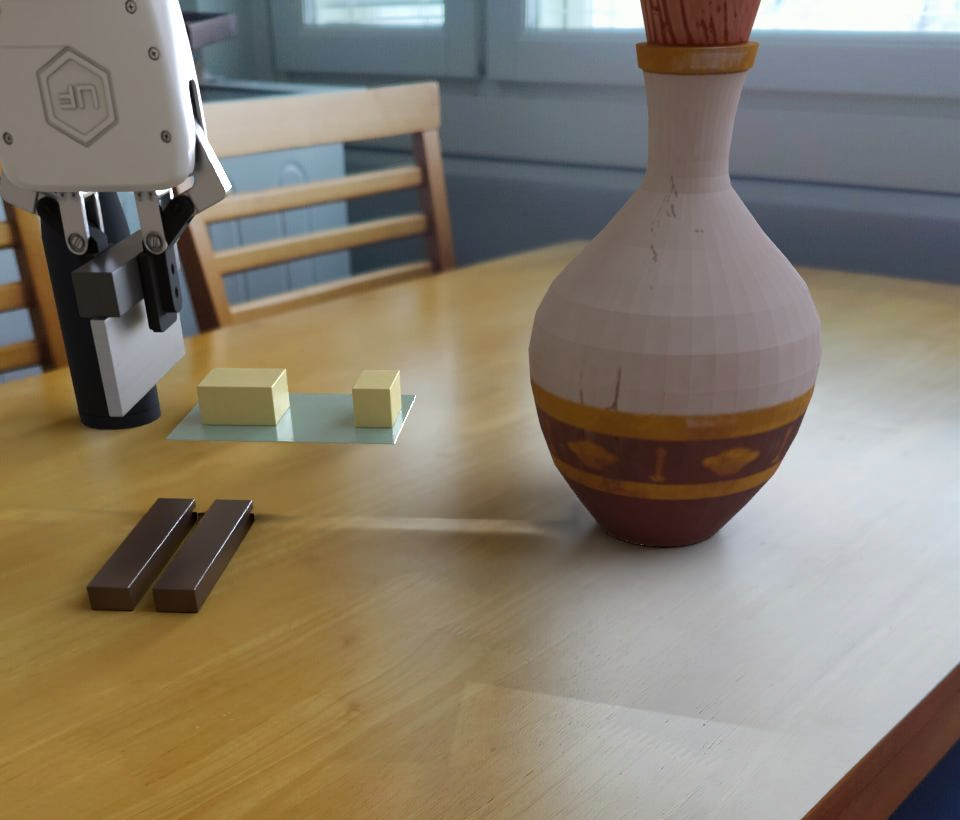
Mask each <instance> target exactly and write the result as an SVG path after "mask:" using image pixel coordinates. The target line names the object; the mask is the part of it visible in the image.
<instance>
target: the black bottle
mask: <svg viewBox="0 0 960 820" xmlns="http://www.w3.org/2000/svg"><path fill="white" fill-rule="evenodd" d="M98 195H99V201H100V207H101V213H102V219H103V225H104V232H105V235H106V236H107V240H108V244H114V245H116V244H117V243H119V242H120V241H122V240H124V239H125V238H127V237H128V236H130V235H131V231H130V230H131V229H130V226H129V223H128V221H127V218H126V215H125V211H124V209H123V206H122V203H121V200H120V197H119V194H118V192H98ZM39 218H40V217H39ZM39 220H40V221H39V223H40V236H41V237H40V238H41V242H42V246H43V251H44V255H45V256H44V257H45V261H46V266H47V270H48V275H49V279H50V284H51V288H52V294H53V298H54V303H55V307H56V312H57V317H58V322H59V325H60V326H59V327H60V330H61V332H60V333H61V336H62V341H63V346H64V350H65V355H66V359H67V364H68V368H69V373H70V378H71V382H72V388H73V392H74V396H75V401H76V406H77V407H76V408H77V411H78V415H79V420H80V423H81V424H82V425H83V426H84V427H86V428H90V429H95V430H101V431H117V430H118V431H119V430H129V429H133V428H134V429H135V428H139V427H143V426H146V425H150V424H152V423H154V422H156V421H157V420H159V418H160V417H161V416H162V409H161V404H160V403H161V402H160V398H159V392H158V386H157V384H156V385H155V386H154V387H153V388H152V389H151V390H150V391H149V392H148V393H147V394H146V395H145V396H144V397H143V398H142V399H140V400H139V401H138V402H137V403H136V404H135V405H134V406H133V407H132V408H131V409H130V410H129V411H128V412H127V413H126V414H125V415H124V416H123V417H110V416H109V411H108V406H107V401H106V396H105V391H104V386H103V381H102V377H101V372H100V367H99V362H98V357H97V352H96V347H95V342H94V337H93V332H92V328H91V323H90V320H92V319H93V318H94V317H80V313H79V308H78V303H77V299H76V294H75V289H74V284H73V279H72V275H71V273H72V272H73V271H75V270H76V269H78V268H79V267H80V262H79V257H78V255H77V254H74V253H72V252H71V251H70V250H69V248H68V247H67V244H66V241H65V240H64V239H63V238H62V237H61V236H60V235H59V234H58V233H56V232H55V231H54V230H53V229H52V228H51V227H50V226H49V225H48V224H47V223H46V222H44V221H43V220H42V219H41V218H40V219H39Z"/></svg>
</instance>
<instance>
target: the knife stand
mask: <svg viewBox="0 0 960 820" xmlns="http://www.w3.org/2000/svg"><path fill="white" fill-rule="evenodd" d="M253 502H254V501H253V500H252V499H226V498H225V499H221V498H216V499H214V500H213V502H212V503H211V505H210V507H209V508H208V509H207V511H206V512H205V514H204V515H203V516H202V517H201V519H200V521H199V522H198V524H196V523H197V521H198V520H199V515H198V511H194V510H195V509H196V507H197V504H196V499H195V498H179V497H178V498H177V497H173V498H172V497H158V498H157V499H156V500H155V501H154V503H153V504H152V505H151V506H150V507H149V509H148V510H147V511H146V513H145V514H144V515H143V516H142V518H141V519H140V520H139V521H138V522H137V523H136V524H135V526H134V527H133V529H132V530H131V531H130V532H129V533H128V535H126V537H125V538H124V540H123V541H122V542H121V543H120V544H119V546H118V547H117V548H116V549H115V550H114V552H113V553H112V554H111V555H110V557H109V558H108V559H107V560H106V561H105V563H104V564H103V566H101V568H100V569H99V570H98V571H97V573H95V575H94V576H93V578H92V579H91V580H90V581H89V582H88V584H87V585H86V592H87V596H88V601H89V606H90V609H91V610H103V611H104V610H105V611H106V610H107V611H134V609H135V608H136V606H137V605H138V604H139V603H140V601H141V599H142V598H143V596H144V595H145V594H146V592H147V591H148V590H149V588H150V587H151V585H152V584H153V582H155V580H156V579H157V577H158V576H159V574H160V573H161V572H162V570H163V569H164V568H165V566H166V565H167V563H168V562H169V560H170V559H171V558H172V556H173V555H174V553H175V552H176V551H177V550H178V548H179V546H180V545H181V544H182V542H183V541H184V540H185V539H186V540H185V541H184V543H183V544H182V546H181V547H180V549H179V550H178V551H177V553H176V554H175V555H174V557H173V558H172V559H171V561H170V562H169V564H168V565H167V567H166V568H165V570H164V571H163V572H162V573H161V575H160V577H159V578H158V580H157V581H156V582H155V583H154V585H153V586H152V588H151V591H152V596H153V602H154V607H155V611H156V612H171V613H172V612H173V613H174V612H175V613H199V611H200V610H201V608H202V606H203V605H204V604H205V602H206V601H207V598H208V597H209V596H210V595H211V592H212V590H213V589H214V587H215V586H216V584H217V582H218V581H219V580H220V578H221V576H222V574H223V572H224V571H225V570H226V568H227V566H228V565H229V563H231V562H230V561H231V560H232V558H233V557H234V556H235V554H236V552H237V550H239V547H240V546H241V544H242V542H243V541H244V539H245V537H246V536H247V535H248V532H249V531H250V529H251V528H252V526H253V525H254V523H255V522H256V516H255V513H254V512H252V511H253V509H254V503H253ZM195 524H196V526H195ZM193 527H195V528H194V529H193V530H192V528H193ZM191 530H192V532H191V533H190V535H189V536H188V537H187V535H188V534H189V532H190V531H191ZM186 537H187V538H186Z"/></svg>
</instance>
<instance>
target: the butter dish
mask: <svg viewBox="0 0 960 820" xmlns="http://www.w3.org/2000/svg"><path fill="white" fill-rule="evenodd" d="M288 393H289V402H290V406H289V408H288V409H287V411H286V412H285V413H284V415H283V416H282V418H281V419H280V421H279V422H278V424H277V425H276V426H258V425H203V424H202V419H201V412H200V406H199V401H198V402H196V404H195V405H194V406H193V407H192V408H191V409H190V410H189V411H188V413H187V414H186V415H185V416H184V417H183V418H182V420H181V421H180V422H179V423H178V424H177V425H176V426H175V427H174V429H173V430H171V432H170V433H169V434H168V435H167V436H166V437H165V438H164V441H198V442H203V441H204V442H251V443H253V442H256V443H301V444H303V443H306V444H307V443H308V444H309V443H311V444H314V443H315V444H359V445H360V444H361V445H362V444H365V445H369V444H370V445H395V444H396V443H397V441H398V438H399V435H400V433H401V431H402V428H403V426H404V424H405V422H406V419H407V417H408V416H409V413H410V410H411V408H412V406H413V405H414V402H415V399H416V398H417V394H401V405H402V408H401V410H400V412H399V414H398V416H397V419H396V421H395V423H394V425H393V427H392V428H365V427H355V423H354V410H353V397H352V393H310V392H309V393H308V392H307V393H306V392H304V393H303V392H301V393H300V392H288Z"/></svg>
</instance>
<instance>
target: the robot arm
mask: <svg viewBox="0 0 960 820" xmlns="http://www.w3.org/2000/svg"><path fill="white" fill-rule="evenodd" d="M186 27H187V26H186V23H185V20H184V17H183V12H182V9H181V5H180V2H179V0H0V166H1V172H0V197H1V199H2V200H3V201H4V202H6V203H8V204H10V205H12V206H14V207H16V208H19V209H21V210H22V211H24V212H27V213H29V214H31V215H35V216H38V217H39V218H41V219H42V220H43V221H44V222H46V223H47V224H48V225H49V226H50V227H51V228H52V229H53V230H54V231H55V232H56V233H58V234H59V235H60V236H61V237H62V238H63V239H64V240H65V241H66V244H67V247H68V248H69V250H70V251H71V252H72V253H74V254H77V255H78V257H79V262H80V267H81V266H83V265H84V264H86V263H87V262H89V261H90V260H92V259H94V258H95V257H97V256H98V255H100V254H101V253H103V252H105V251H106V250H108V249H109V248H111V247H112V246H114V244H108V240H107V236H106V235H105V232H104V225H103V219H102V213H101V207H100V201H99V195H98V192H117V193H124V192H125V193H128V192H129V193H133V195H134V196H133V197H134V201H135V206H136V212H137V216H138V221H139V227H140V230H141V232H142V237H143V240H142V246H143V252H144V253H142V254H141V255H140V256H139V258H138V264H139V270H140V276H141V281H142V287H143V293H144V303H145V308H146V314H147V319H148V325H149V329H150V330H153V332H164V331H166V330H167V329H168V328H169V327H170V326H171V325H172V324H173V323H175V322H176V321H177V313H179V314H180V312H181V311H182V309H183V296H182V288H181V283H180V277H179V271H178V270H177V264H176V257H175V251H174V244H175V243H178V242H179V240H180V237H181V236H182V234H183V233H184V232H185V230H186V229H187V228H188V226H189V225H190V224H191V222H192V221H193V219H194V218H195V216H197V215H199V214H200V213H202V212H204V211H206V210H207V209H210V208H211V207H213V206H215V205H217V204H218V203H220V202H222V201H223V200H224V199H226V198H227V197H229V196H230V195H231V193H232V185H231V182H230V180H229V178H228V176H227V174H226V173H225V171H224V169H223V167H222V165H221V163H220V161H219V159H218V157H217V155H216V154H215V153H216V152H214V149H213V148H212V145H211V143H210V141H209V140H208V131H207V124H206V119H205V111H204V107H203V102H202V101H203V100H202V96H201V91H200V86H199V80H198V76H197V70H196V67H195V61H194V57H193V53H192V49H191V44H190V40H189V35H188V32H187V28H186ZM190 177H193V184H192V186H191V187H189V188H188V189H186V190H184V191H182V192H181V193H179V194H177V195H176V196H174V193H173V189H174V188H175V187H178V186H180V185H182V184H183V183H184V182H185V181H186V180H187V179H188V178H190Z"/></svg>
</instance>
